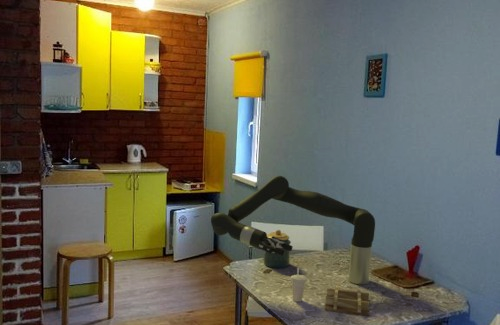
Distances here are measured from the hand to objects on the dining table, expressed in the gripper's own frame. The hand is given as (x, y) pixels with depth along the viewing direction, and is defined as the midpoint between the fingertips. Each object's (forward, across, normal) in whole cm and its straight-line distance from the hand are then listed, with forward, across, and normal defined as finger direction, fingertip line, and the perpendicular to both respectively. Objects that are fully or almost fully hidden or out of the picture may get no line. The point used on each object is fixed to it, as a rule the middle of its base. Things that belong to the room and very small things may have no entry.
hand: (288, 250), depth 195 cm
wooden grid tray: (+27, +10, +16) cm, 33 cm away
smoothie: (+8, +3, +20) cm, 21 cm away
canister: (-16, +40, +22) cm, 48 cm away
